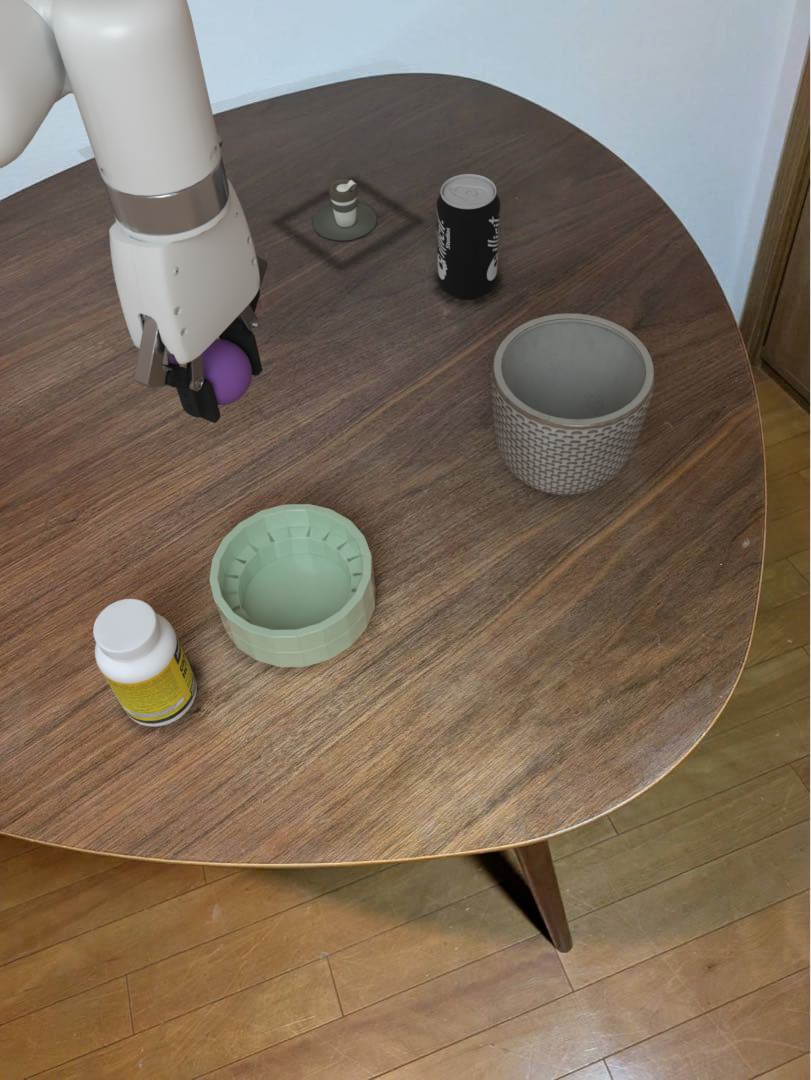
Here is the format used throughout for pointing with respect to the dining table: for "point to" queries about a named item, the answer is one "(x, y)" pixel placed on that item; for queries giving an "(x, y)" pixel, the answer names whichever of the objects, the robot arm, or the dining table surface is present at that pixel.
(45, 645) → the dining table surface
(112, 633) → the pill bottle
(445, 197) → the beverage can
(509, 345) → the planter
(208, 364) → the ball
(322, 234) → the coffee cup
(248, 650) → the bowl
